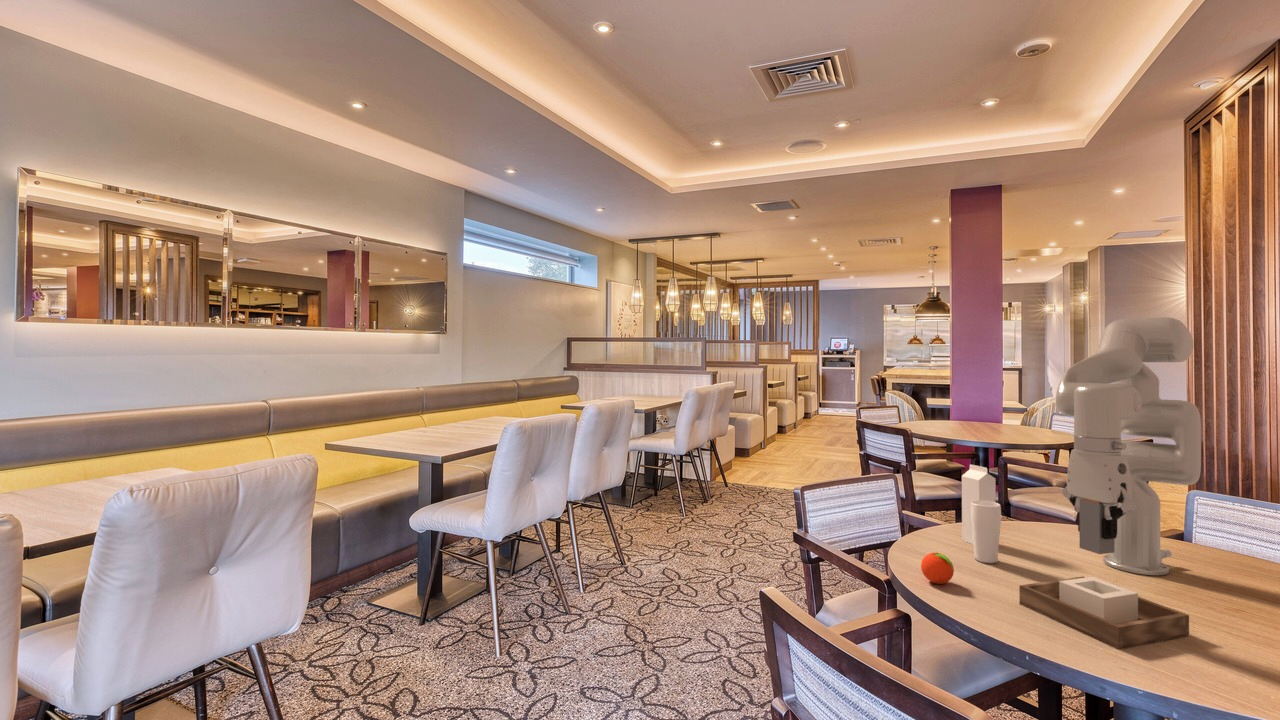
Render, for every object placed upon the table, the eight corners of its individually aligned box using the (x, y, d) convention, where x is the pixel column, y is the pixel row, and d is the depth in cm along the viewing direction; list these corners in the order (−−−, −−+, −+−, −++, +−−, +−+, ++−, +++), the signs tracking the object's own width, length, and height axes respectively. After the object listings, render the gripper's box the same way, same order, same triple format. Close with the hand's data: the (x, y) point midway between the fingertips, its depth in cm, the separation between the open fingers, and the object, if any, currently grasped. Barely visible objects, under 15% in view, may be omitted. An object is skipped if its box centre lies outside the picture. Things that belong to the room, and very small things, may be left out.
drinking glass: (1005, 566, 146) (1005, 507, 146) (976, 564, 147) (976, 506, 147) (994, 556, 152) (994, 500, 152) (967, 555, 154) (966, 499, 154)
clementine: (965, 587, 133) (964, 556, 133) (943, 592, 130) (943, 561, 130) (935, 575, 140) (935, 546, 140) (914, 579, 137) (914, 550, 137)
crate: (1083, 594, 128) (1083, 576, 128) (1189, 636, 109) (1189, 615, 109) (1019, 603, 124) (1019, 585, 124) (1118, 649, 104) (1118, 627, 104)
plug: (1094, 546, 120) (1094, 493, 120) (1114, 552, 116) (1114, 498, 116) (1079, 547, 119) (1079, 494, 119) (1099, 554, 115) (1099, 499, 115)
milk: (979, 547, 160) (978, 468, 160) (961, 540, 166) (961, 464, 166) (996, 545, 162) (995, 467, 162) (978, 538, 168) (977, 463, 168)
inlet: (1091, 601, 123) (1091, 576, 123) (1137, 620, 114) (1137, 593, 114) (1059, 606, 121) (1059, 581, 121) (1103, 626, 112) (1103, 598, 112)
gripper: (1156, 450, 110) (1156, 546, 110) (1070, 439, 126) (1070, 522, 126) (1127, 452, 108) (1127, 549, 108) (1044, 440, 124) (1044, 525, 124)
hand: (1097, 533), depth 117 cm, fingers closed on plug, 4 cm apart
